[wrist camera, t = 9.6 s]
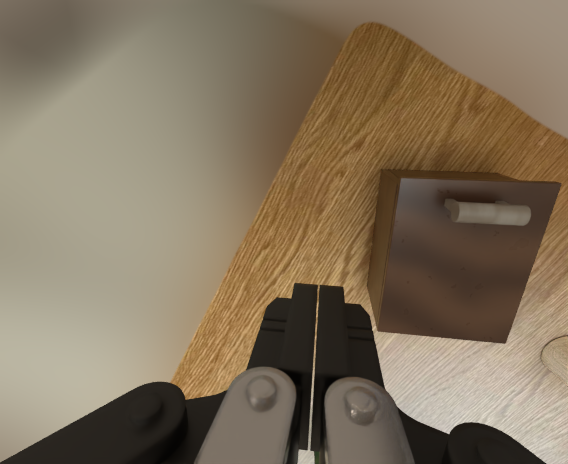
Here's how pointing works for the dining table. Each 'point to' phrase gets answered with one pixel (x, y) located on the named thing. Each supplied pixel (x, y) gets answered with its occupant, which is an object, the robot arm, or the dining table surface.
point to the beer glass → (557, 358)
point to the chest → (386, 217)
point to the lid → (462, 255)
